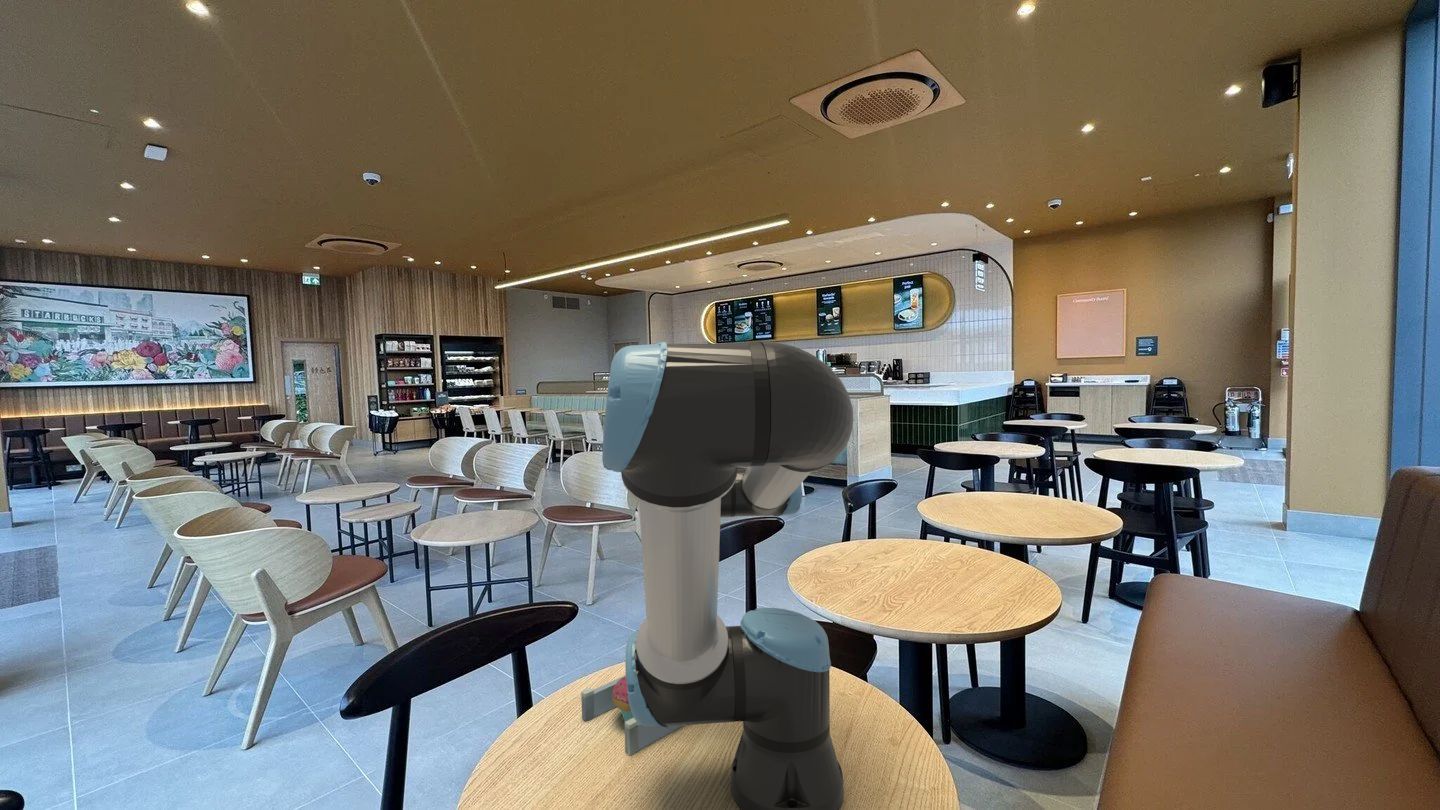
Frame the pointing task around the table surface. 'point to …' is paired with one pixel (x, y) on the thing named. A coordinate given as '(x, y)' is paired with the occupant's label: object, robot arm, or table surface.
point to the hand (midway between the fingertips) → (685, 669)
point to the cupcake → (622, 698)
